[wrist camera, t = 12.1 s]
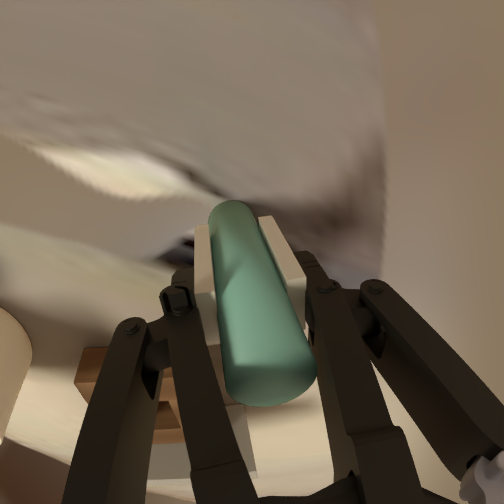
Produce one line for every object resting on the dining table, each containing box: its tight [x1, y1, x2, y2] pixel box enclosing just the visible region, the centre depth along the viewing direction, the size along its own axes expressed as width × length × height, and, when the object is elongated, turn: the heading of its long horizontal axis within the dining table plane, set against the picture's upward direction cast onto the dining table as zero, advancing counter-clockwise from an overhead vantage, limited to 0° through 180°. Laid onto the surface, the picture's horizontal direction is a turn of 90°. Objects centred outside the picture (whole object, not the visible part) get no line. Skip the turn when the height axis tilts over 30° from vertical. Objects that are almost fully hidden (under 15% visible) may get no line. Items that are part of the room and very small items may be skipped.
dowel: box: [208, 201, 318, 407], centre depth 15 cm, size 3×3×13 cm
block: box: [74, 347, 185, 444], centre depth 25 cm, size 10×10×4 cm
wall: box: [147, 404, 258, 487], centre depth 26 cm, size 2×16×8 cm, turn 95°
